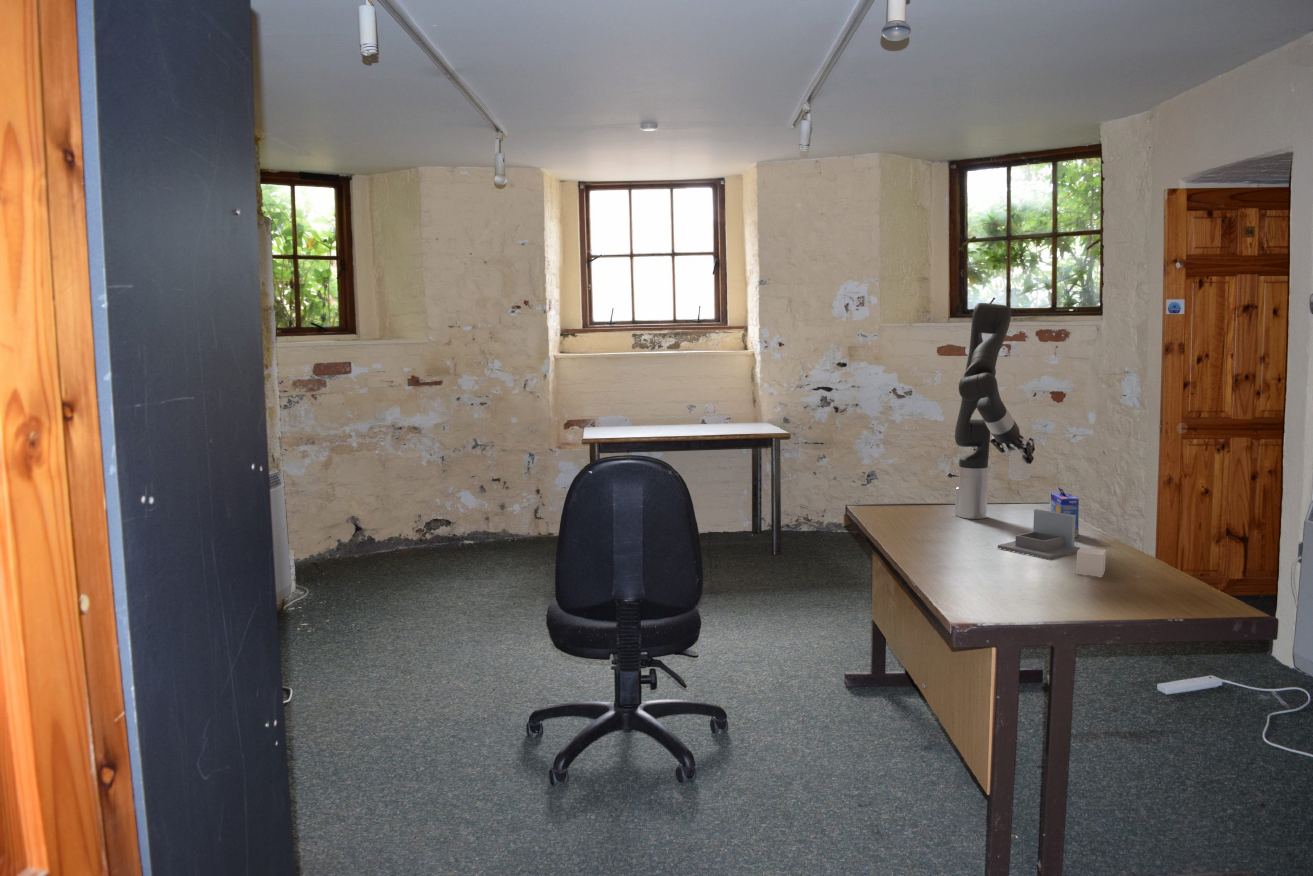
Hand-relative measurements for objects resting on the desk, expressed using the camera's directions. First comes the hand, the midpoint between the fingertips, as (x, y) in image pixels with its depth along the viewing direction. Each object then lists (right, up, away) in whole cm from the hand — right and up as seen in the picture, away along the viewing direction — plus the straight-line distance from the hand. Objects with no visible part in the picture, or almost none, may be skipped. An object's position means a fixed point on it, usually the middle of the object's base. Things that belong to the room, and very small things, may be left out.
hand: (1023, 460), depth 267 cm
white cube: (0, -28, -42) cm, 51 cm away
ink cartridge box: (+13, -23, +2) cm, 27 cm away
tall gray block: (-2, -6, 0) cm, 6 cm away
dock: (-3, -25, -17) cm, 31 cm away
